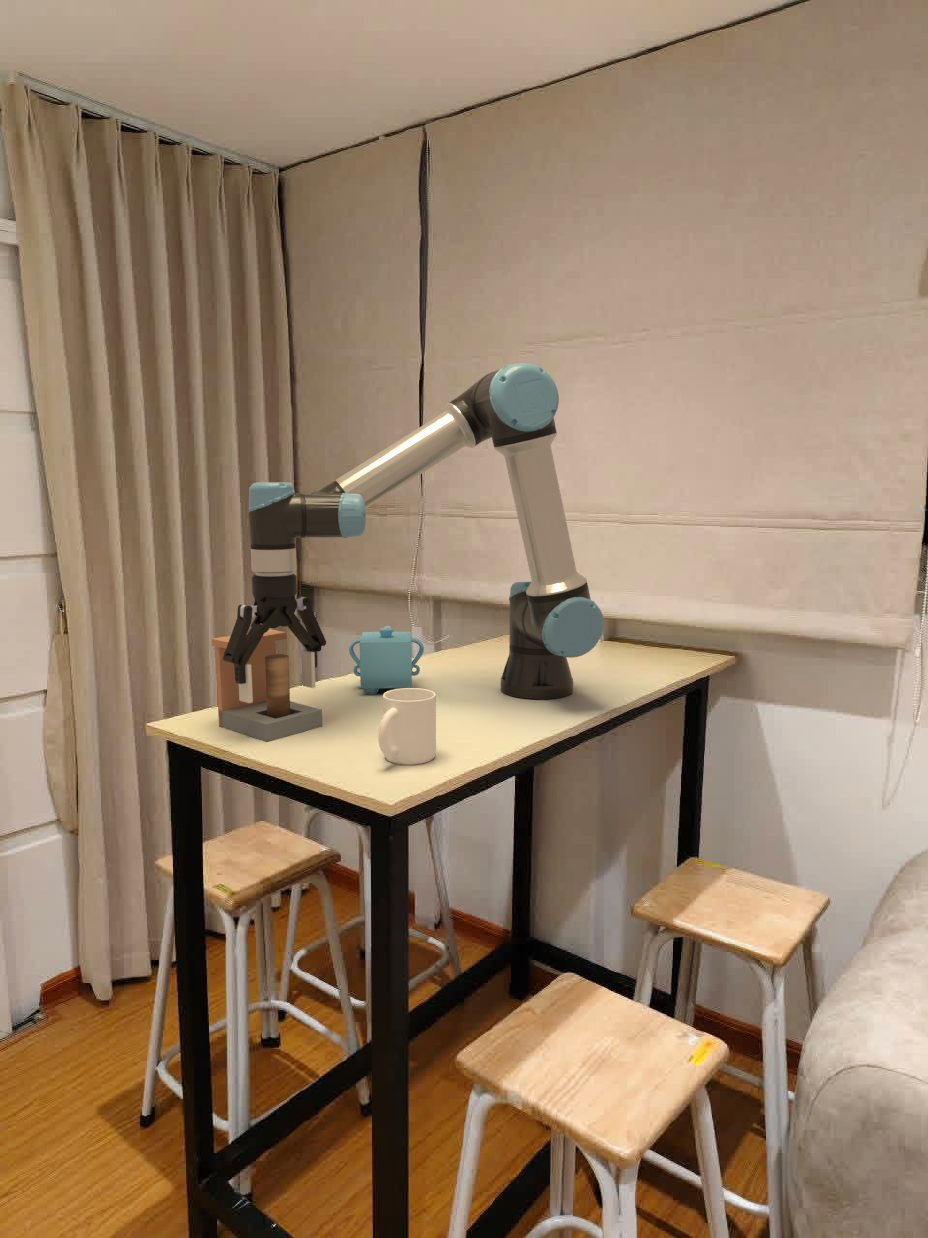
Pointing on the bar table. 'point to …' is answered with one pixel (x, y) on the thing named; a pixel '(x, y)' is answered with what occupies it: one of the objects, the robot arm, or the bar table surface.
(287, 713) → the walnut peg
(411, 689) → the mug
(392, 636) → the teal cube teapot
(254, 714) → the socket stand
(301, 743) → the bar table surface
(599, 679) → the bar table surface
